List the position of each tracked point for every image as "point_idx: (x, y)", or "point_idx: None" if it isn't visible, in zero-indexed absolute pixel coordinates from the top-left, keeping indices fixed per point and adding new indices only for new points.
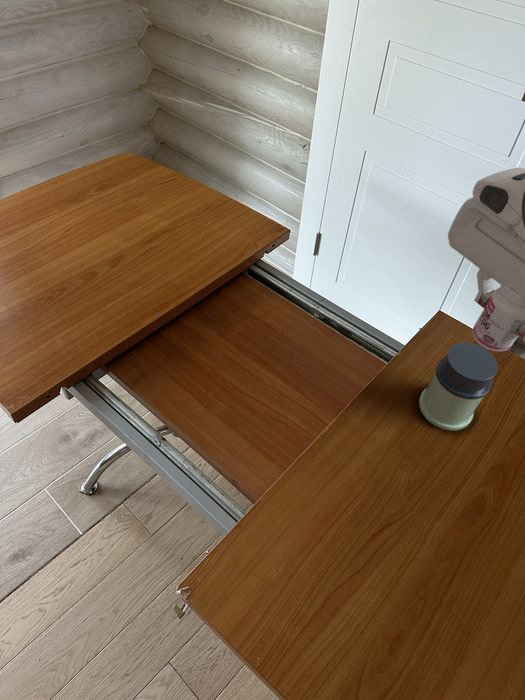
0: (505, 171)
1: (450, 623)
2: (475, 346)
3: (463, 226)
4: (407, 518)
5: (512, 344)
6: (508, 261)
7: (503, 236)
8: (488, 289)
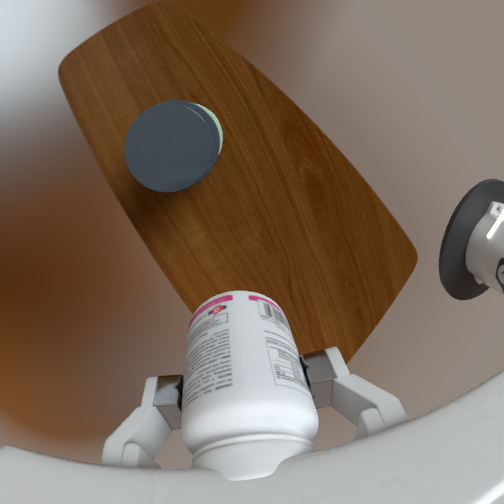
0: None
1: (373, 275)
2: (139, 121)
3: None
4: (292, 263)
5: (287, 321)
6: None
7: None
8: (160, 422)
